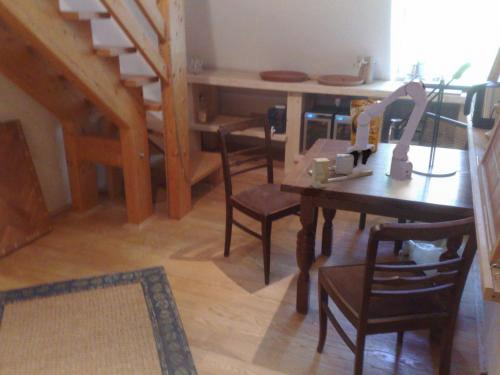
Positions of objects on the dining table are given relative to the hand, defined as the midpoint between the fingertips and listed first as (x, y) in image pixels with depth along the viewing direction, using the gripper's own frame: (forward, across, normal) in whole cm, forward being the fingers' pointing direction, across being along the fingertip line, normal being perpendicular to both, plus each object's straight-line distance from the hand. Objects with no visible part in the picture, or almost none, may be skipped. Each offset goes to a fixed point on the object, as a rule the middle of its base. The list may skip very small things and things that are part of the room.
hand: (359, 165), depth 210 cm
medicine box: (+3, +9, 0) cm, 9 cm away
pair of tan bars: (+3, +4, 0) cm, 5 cm away
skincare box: (+3, +28, +10) cm, 30 cm away
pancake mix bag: (+3, -21, -25) cm, 33 cm away
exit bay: (+3, +18, 0) cm, 18 cm away
